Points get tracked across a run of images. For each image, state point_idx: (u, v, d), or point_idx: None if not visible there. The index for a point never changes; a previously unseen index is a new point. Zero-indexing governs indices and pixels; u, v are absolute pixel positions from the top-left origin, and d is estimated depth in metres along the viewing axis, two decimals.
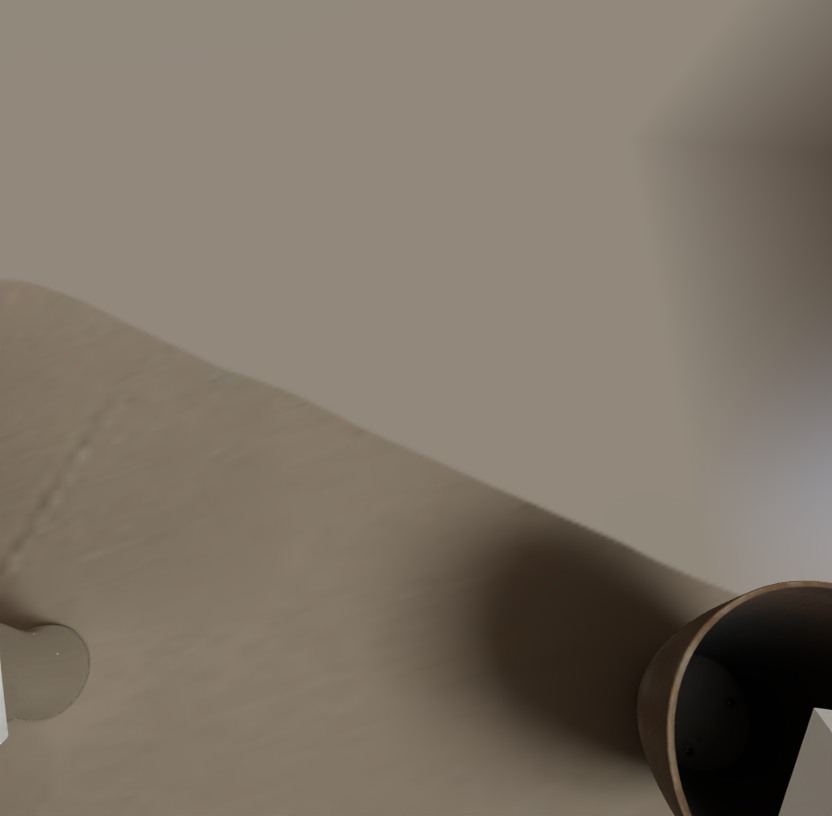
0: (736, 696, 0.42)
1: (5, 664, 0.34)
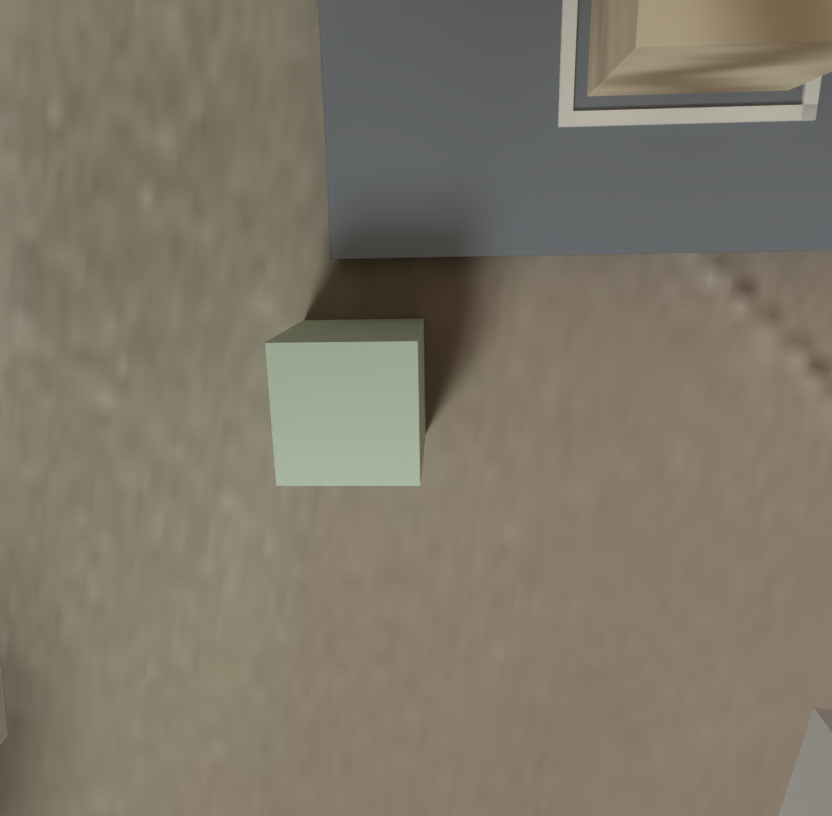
0: None
1: None
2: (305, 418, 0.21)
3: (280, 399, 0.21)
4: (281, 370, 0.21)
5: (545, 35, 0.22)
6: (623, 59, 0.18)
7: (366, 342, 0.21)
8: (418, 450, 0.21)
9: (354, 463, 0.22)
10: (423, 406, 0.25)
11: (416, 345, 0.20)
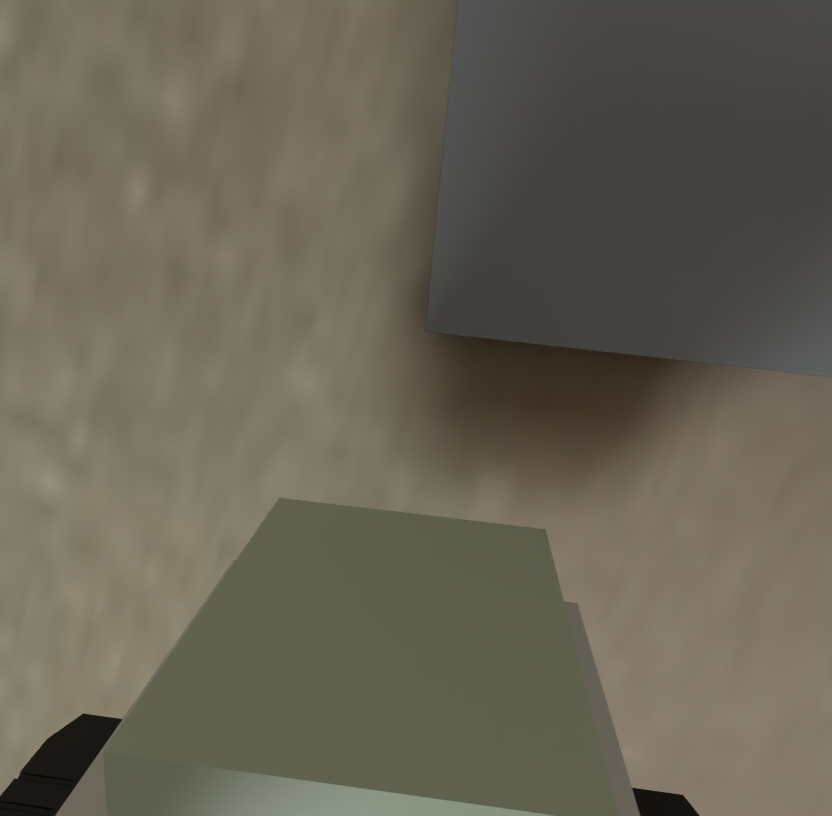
0: None
1: None
2: None
3: None
4: None
5: None
6: None
7: (443, 799, 0.06)
8: None
9: None
10: None
11: None
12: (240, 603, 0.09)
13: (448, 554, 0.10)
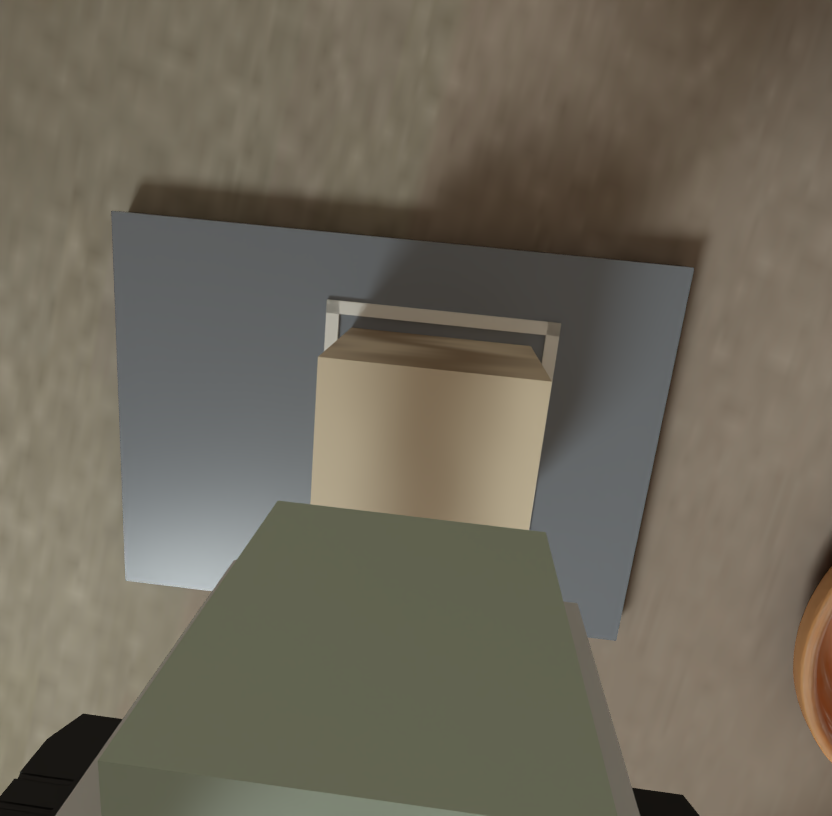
0: None
1: None
2: None
3: None
4: None
5: (306, 443, 0.26)
6: None
7: (442, 808, 0.06)
8: None
9: None
10: None
11: None
12: (238, 607, 0.09)
13: (448, 557, 0.10)
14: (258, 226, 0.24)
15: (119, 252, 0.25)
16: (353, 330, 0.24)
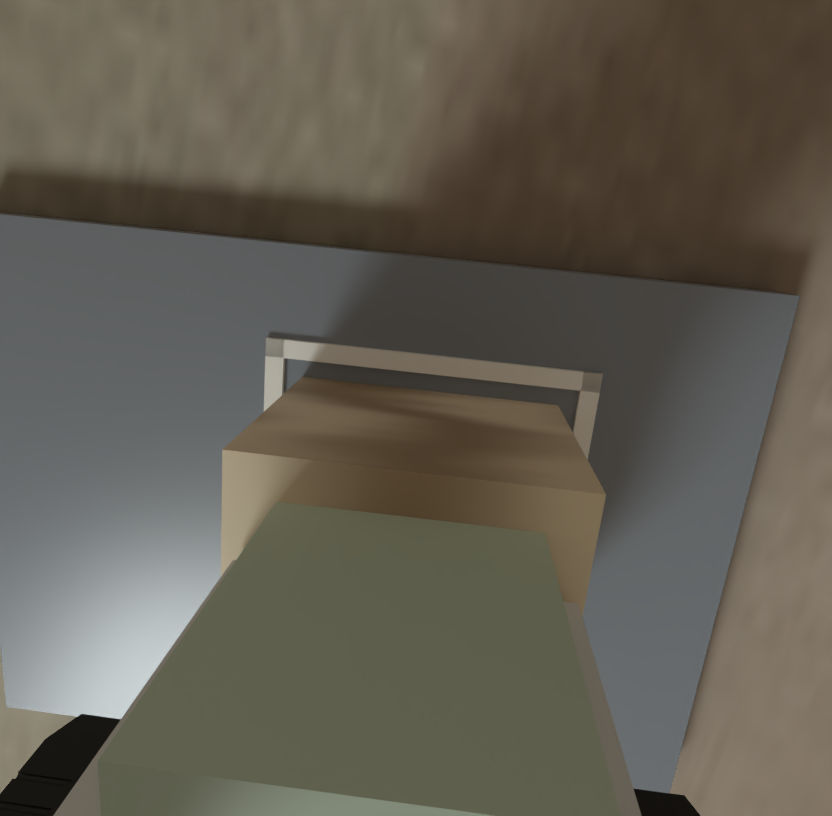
0: None
1: None
2: None
3: None
4: None
5: None
6: None
7: (444, 808, 0.06)
8: None
9: None
10: None
11: None
12: (237, 608, 0.09)
13: (447, 558, 0.10)
14: (166, 232, 0.17)
15: None
16: (303, 382, 0.17)
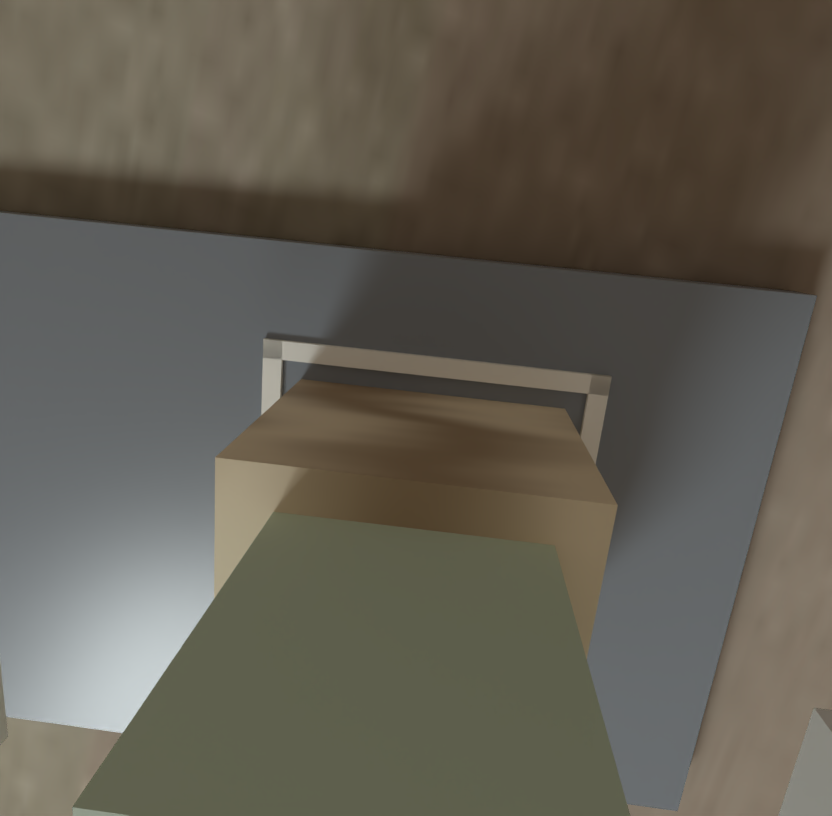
0: None
1: None
2: None
3: None
4: None
5: None
6: None
7: None
8: None
9: None
10: None
11: None
12: (230, 630, 0.08)
13: (453, 573, 0.10)
14: (160, 230, 0.16)
15: None
16: (301, 385, 0.16)
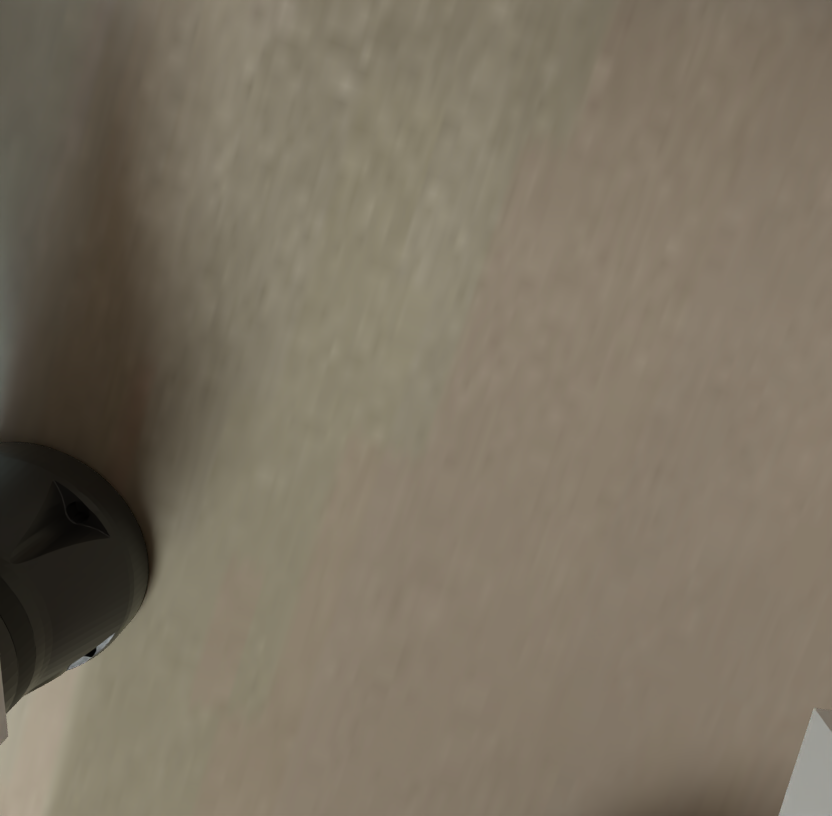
0: None
1: None
2: None
3: None
4: None
5: None
6: None
7: None
8: None
9: None
10: None
11: None
12: None
13: None
14: None
15: None
16: None
